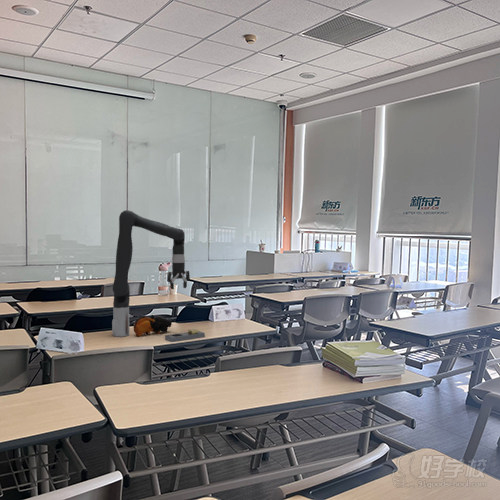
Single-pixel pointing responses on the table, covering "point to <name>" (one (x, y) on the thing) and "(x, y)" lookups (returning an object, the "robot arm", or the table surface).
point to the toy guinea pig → (151, 325)
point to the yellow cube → (192, 331)
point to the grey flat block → (183, 336)
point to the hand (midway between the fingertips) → (178, 288)
